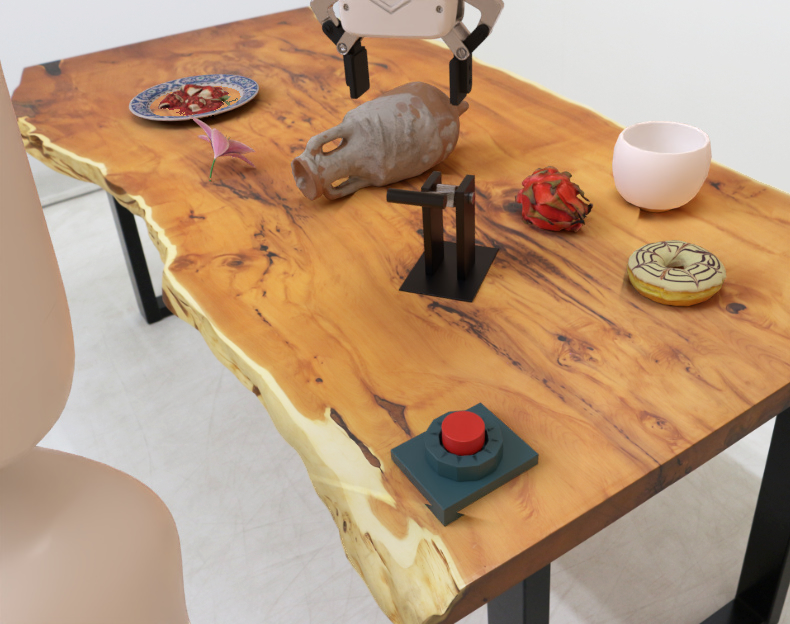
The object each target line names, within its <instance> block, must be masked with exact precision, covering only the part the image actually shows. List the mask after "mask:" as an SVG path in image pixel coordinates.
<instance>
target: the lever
mask: <svg viewBox="0 0 790 624" xmlns="http://www.w3.org/2000/svg"><path fill="white" fill-rule="evenodd" d="M459 185H460V184H459ZM459 185H457V184H449V183H442V184H437V188H436V191H434V192H421V191H420V190H409V189H401V188H392V187H389V188H387V191H386V194H385V195H386V196H385V199H386V202H387V203H390V204H398V205H405V206H406V205H407V206H414V207H421V208H422V207H430V208H438V209H443V210H445V209H446V208H452V209H453V208H454V209H455V208H456V207H455V191H456V189H457V188H458V187H459Z"/></svg>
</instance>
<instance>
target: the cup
mask: <svg viewBox="0 0 790 624" xmlns="http://www.w3.org/2000/svg"><path fill="white" fill-rule="evenodd" d="M612 153H613V154H612V163H611V168H612V170H611V171H612V175H613V181H614V186H615V189H616V190H617V192H618V193H619V195H620V196H621V197H622V198H623V199H624V201H626V202H627V203H630V204H631V205H633V206H636V207H639V210H642V211H645V212H649V213H664V212H669V211H670V210H672V209H678V208H680V207H682V206H685V205H686V204H688V203H689V202H690V201H691V200H693V199H694V198H695V197H696V196H697V194H698V193H699V191H700V190H701V188H702V186H703V185H704V183H705V181H706V179H707V178H708V176H709V174H710V173H709V172H710V168H711V163H712V158H713V154H712V145H711V140H710V136H709V135H708V133H706V132H705V131H703V130H702V129H701V128H700V127H696V126H694V125H690V124H688V123H684V122H677V121H671V120H649V121H648V120H647V121H643V122H642V121H641V122H637V123H634V124H631V125H628V126H626V127H625V128H624V129H623V130H622V131H621V132H620V133H619V134H618V137H617V140H616V142H615V144H614V146H613V152H612Z"/></svg>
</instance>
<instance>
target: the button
mask: <svg viewBox="0 0 790 624" xmlns="http://www.w3.org/2000/svg"><path fill="white" fill-rule="evenodd" d="M457 411H458V412H454V413H451V414H450V415H448V416H447V417H446V418H445V419H444V420H443V422H442V442H443V445H444V447H445V448H446V449H447V450H448V451H449V452H450V453H452V454H455V455H459V456H468V455H473V454H475V453H477V452H478V451H480V450H481V449H482V447H483V446H484V443H485V424H484V422H483V420H482V418H481V417H479V416H478V415H477V414H475V413H472V412H468V411H461V410H457Z"/></svg>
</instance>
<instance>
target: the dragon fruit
mask: <svg viewBox="0 0 790 624" xmlns="http://www.w3.org/2000/svg"><path fill="white" fill-rule="evenodd" d="M572 177H573V175H572V173H571V172H570V171H567V170H566V171H565V170H564V171H561V172H560V171H559V169H558V167H555V166H553V165H548V166H546V167H545V166H544V167H543V168H541V167H537V168H536V169H535V170H534V171H533V172H532V174H531V175H528V176H527V177H525V178H524V179H523V180H522V181H521V186H523V188H522V189H519V190H518V191H517V194H515V196H514V202H515V203H517V204H522V209H521V218H522V220H523V224H524V225H529V226H530V225H532V224H533V225H534V226H536V227H538V228H539V229H540V230H548V231H554V232H555V231H556V232H560V231H561V230H565V231H567V232H572V231H573V232H574V233H578V231H579V230H580V229H581V228H582V227H583V226H585V225H586V222H585V219H586V218H588V215H589V214H591V212H592V209H594V204H593V203H591V200H590V199H589V198H588V197H586V196H585V191H584V190H583V189H581V188H580V185H579V184H577V183H575V182H574V181H573V182H572V181H571V178H572ZM578 196H580V197H581V198H582V199H583V200H585V201H586V202H588V203H586V202H584V201H583V200H582V199H581V198H579V197H578Z"/></svg>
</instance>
